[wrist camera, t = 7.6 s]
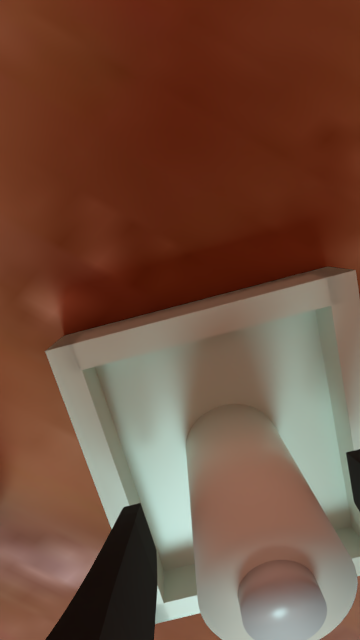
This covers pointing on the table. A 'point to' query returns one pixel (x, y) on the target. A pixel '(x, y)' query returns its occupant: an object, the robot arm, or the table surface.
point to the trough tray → (217, 402)
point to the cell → (261, 534)
